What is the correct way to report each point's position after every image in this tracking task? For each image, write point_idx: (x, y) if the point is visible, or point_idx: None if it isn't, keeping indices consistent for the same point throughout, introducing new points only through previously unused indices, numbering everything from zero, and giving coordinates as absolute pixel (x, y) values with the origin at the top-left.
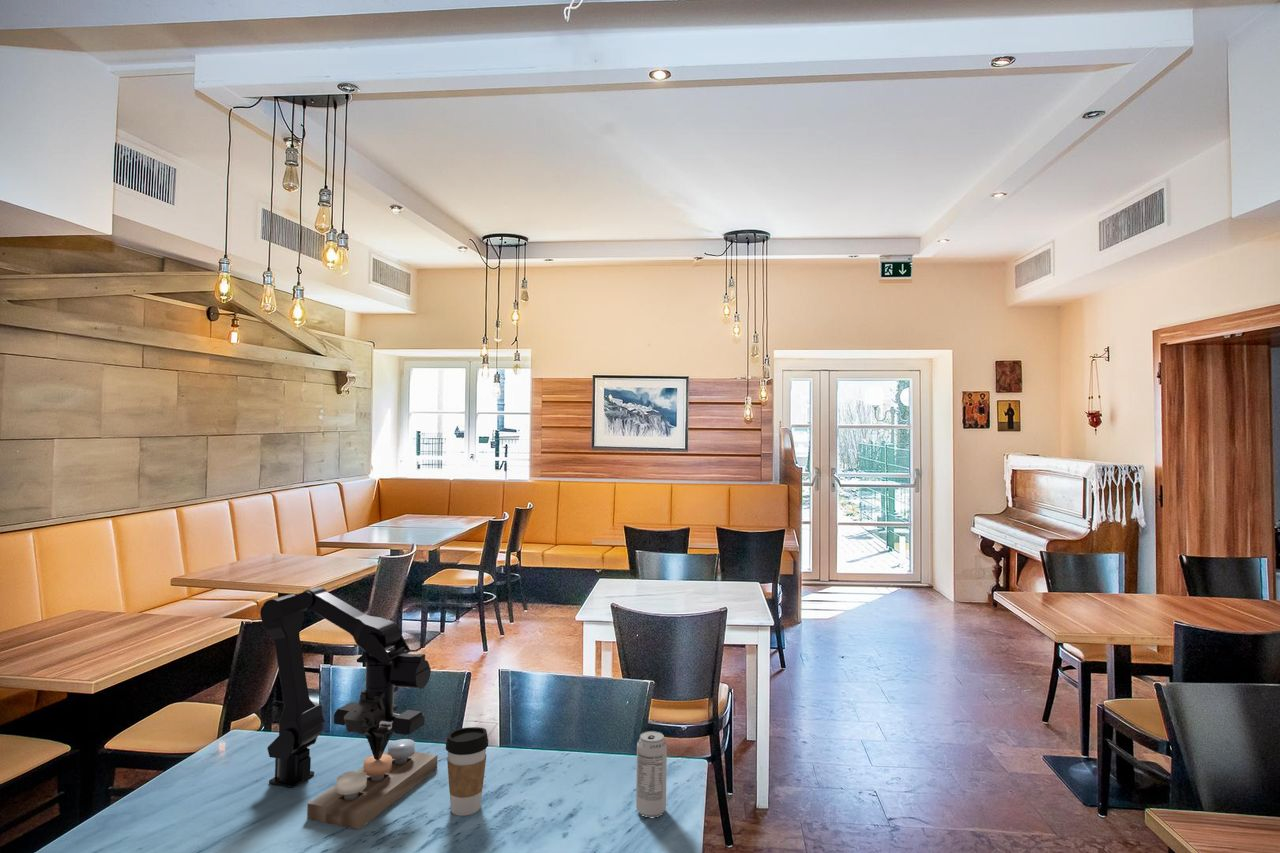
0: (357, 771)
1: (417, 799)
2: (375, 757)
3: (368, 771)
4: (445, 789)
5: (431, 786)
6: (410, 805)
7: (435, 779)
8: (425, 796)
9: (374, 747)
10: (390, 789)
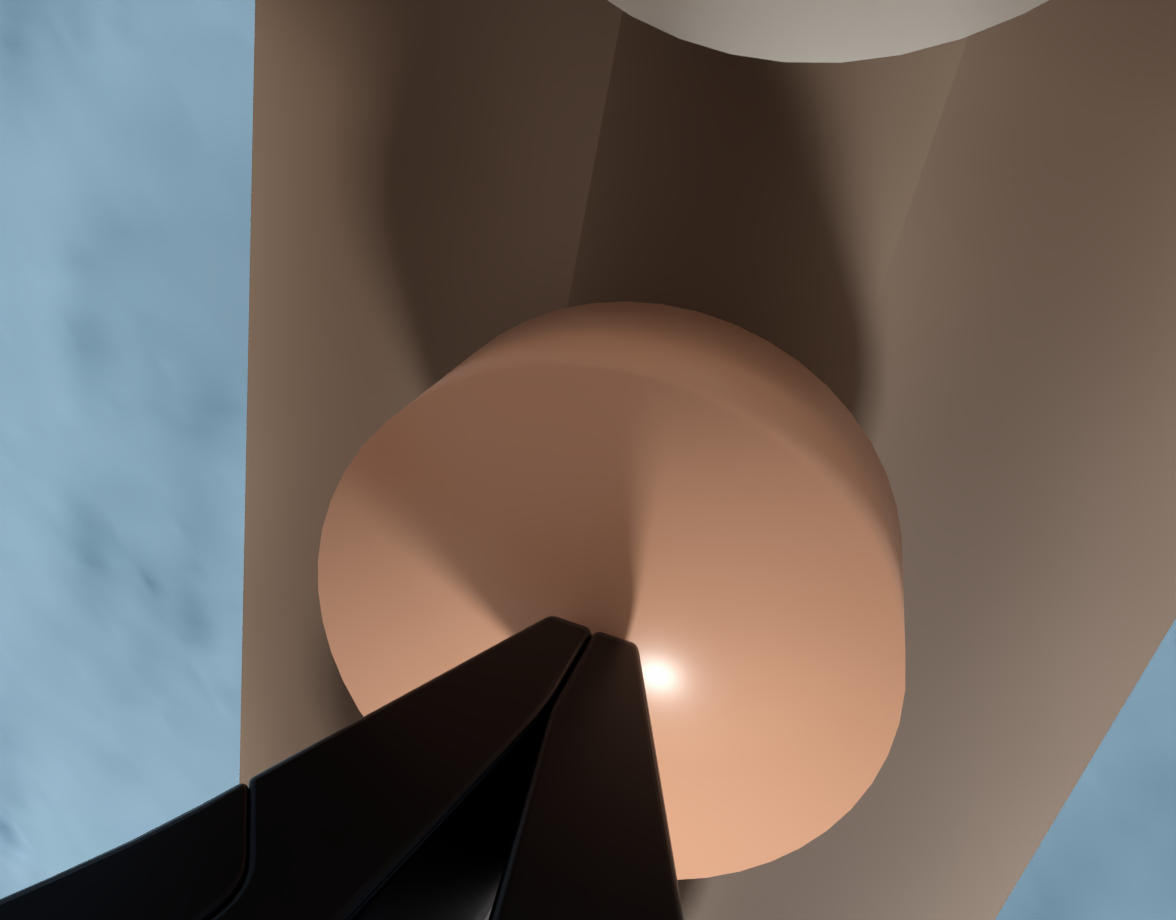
0: (835, 3)
1: (158, 243)
2: (593, 652)
3: (691, 336)
4: (30, 460)
5: (182, 521)
6: (151, 92)
7: (222, 651)
8: (120, 314)
9: (516, 826)
10: (268, 91)
